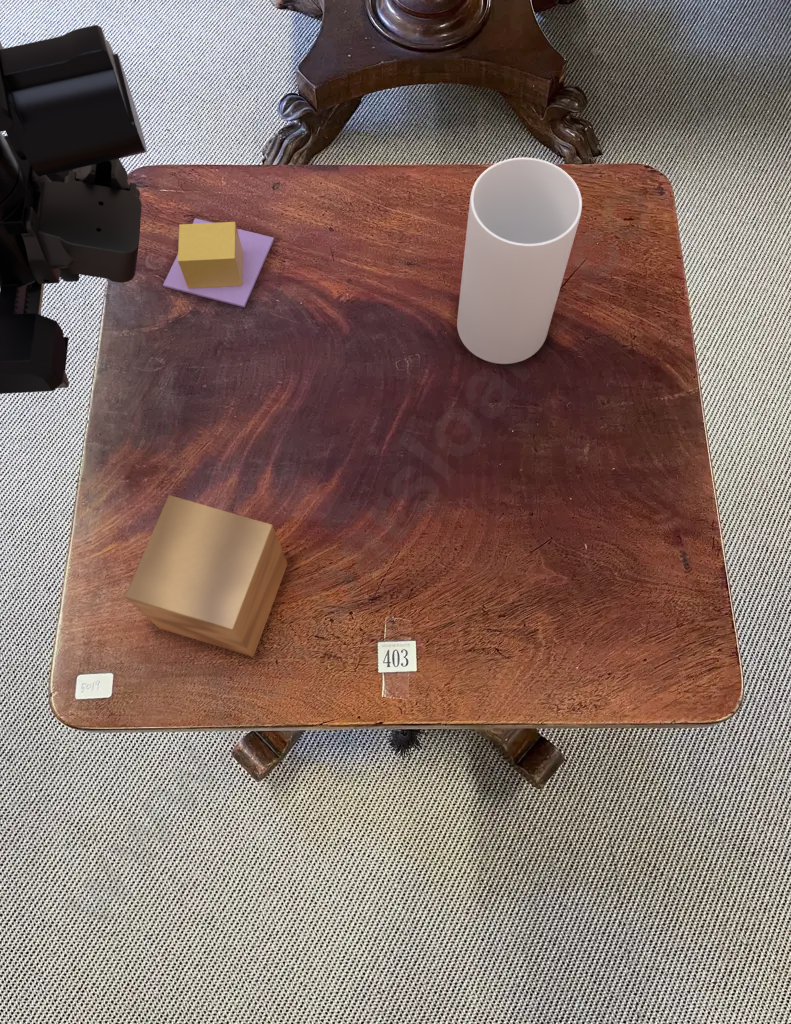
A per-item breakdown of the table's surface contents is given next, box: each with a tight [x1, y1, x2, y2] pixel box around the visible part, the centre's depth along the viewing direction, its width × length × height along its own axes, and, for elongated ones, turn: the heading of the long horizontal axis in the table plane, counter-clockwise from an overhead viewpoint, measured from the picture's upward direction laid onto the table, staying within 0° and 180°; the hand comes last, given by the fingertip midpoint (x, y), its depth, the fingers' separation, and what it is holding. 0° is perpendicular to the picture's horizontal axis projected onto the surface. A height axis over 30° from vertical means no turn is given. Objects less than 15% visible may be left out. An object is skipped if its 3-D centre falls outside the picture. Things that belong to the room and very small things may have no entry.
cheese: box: [177, 221, 243, 288], centre depth 78 cm, size 5×4×4 cm
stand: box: [124, 494, 288, 658], centre depth 64 cm, size 8×8×9 cm
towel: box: [162, 217, 275, 308], centre depth 80 cm, size 8×8×1 cm
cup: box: [456, 156, 583, 365], centre depth 70 cm, size 8×8×16 cm
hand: (67, 331), depth 64 cm, fingers open, 9 cm apart
